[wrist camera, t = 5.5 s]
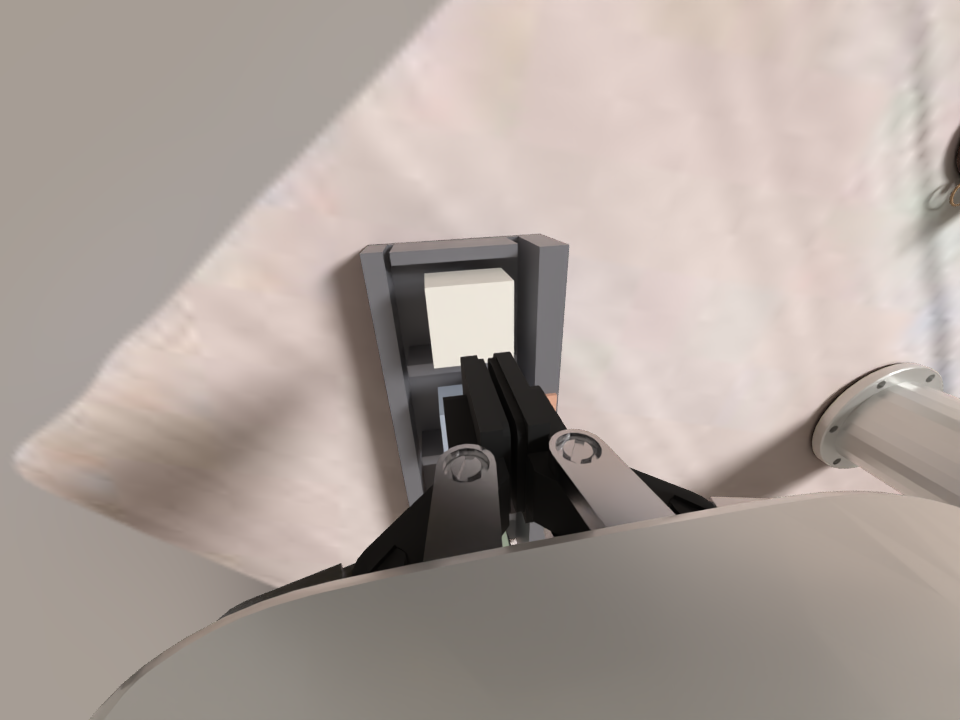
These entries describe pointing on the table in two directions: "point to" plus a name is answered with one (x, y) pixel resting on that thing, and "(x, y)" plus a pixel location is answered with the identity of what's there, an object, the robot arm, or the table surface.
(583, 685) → the robot arm
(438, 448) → the grey compartment tray
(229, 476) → the table surface
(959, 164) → the compass
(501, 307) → the key ivory
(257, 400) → the table surface
